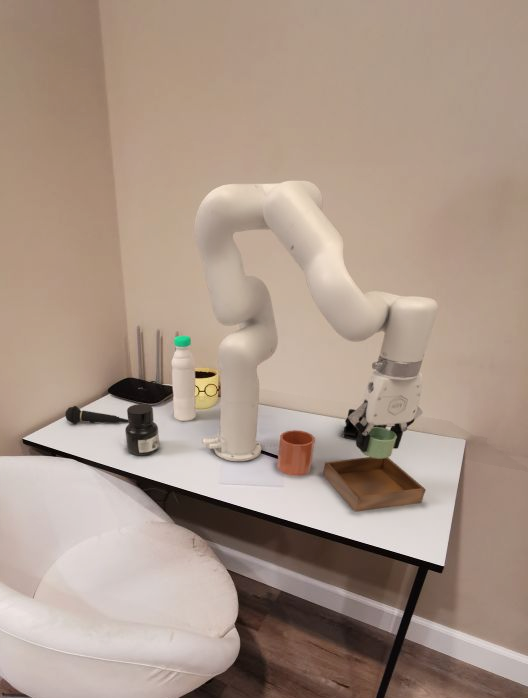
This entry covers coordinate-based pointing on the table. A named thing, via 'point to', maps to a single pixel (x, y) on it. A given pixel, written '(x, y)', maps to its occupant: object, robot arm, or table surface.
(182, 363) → the water bottle
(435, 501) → the table surface
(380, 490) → the tray
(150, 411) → the ink bottle
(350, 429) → the black angular box
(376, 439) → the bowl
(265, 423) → the table surface
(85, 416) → the microphone
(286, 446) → the cup
